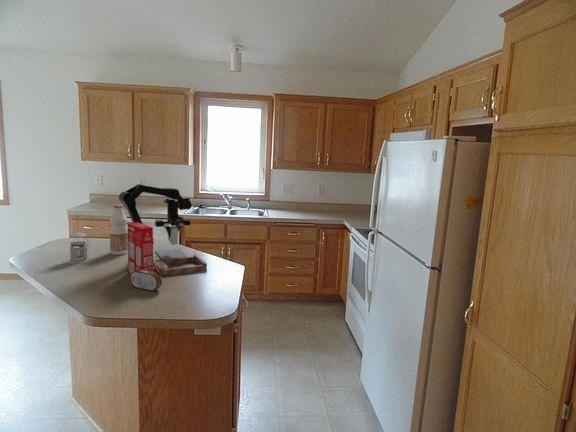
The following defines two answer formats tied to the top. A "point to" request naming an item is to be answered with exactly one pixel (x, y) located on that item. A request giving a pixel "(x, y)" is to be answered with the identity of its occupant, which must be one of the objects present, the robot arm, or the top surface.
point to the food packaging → (140, 247)
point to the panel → (173, 235)
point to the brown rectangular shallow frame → (182, 270)
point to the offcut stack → (160, 267)
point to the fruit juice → (118, 232)
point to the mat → (170, 254)
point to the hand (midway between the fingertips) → (172, 237)
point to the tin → (145, 279)
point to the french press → (74, 251)
